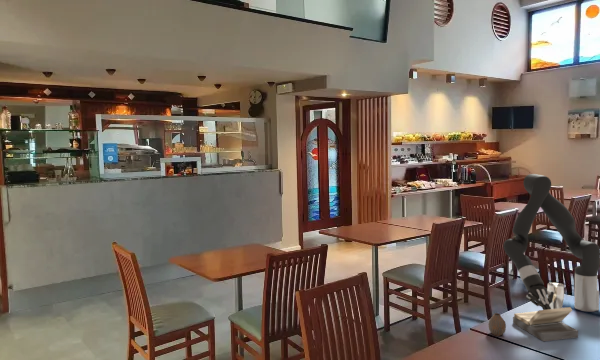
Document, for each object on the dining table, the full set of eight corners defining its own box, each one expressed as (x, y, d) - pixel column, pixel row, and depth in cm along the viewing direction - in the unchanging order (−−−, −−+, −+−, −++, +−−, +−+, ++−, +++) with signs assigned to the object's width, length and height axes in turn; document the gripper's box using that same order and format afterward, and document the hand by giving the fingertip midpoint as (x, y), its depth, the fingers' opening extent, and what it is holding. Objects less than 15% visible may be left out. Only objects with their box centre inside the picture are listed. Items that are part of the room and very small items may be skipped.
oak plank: (530, 324, 196) (528, 321, 197) (561, 321, 198) (559, 318, 199) (540, 313, 189) (538, 310, 190) (572, 310, 192) (570, 307, 193)
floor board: (512, 323, 207) (513, 313, 207) (544, 319, 210) (544, 310, 209) (543, 341, 187) (543, 330, 187) (577, 337, 190) (578, 327, 190)
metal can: (559, 313, 217) (560, 282, 216) (566, 318, 210) (567, 286, 209) (544, 313, 218) (544, 282, 217) (550, 318, 211) (551, 286, 210)
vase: (491, 329, 201) (491, 310, 200) (507, 333, 197) (507, 313, 196) (486, 334, 196) (486, 314, 195) (503, 338, 191) (503, 318, 191)
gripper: (521, 274, 202) (539, 311, 191) (548, 272, 204) (568, 308, 193) (513, 283, 207) (531, 319, 196) (539, 280, 210) (558, 316, 198)
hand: (549, 313), depth 194 cm, fingers closed
